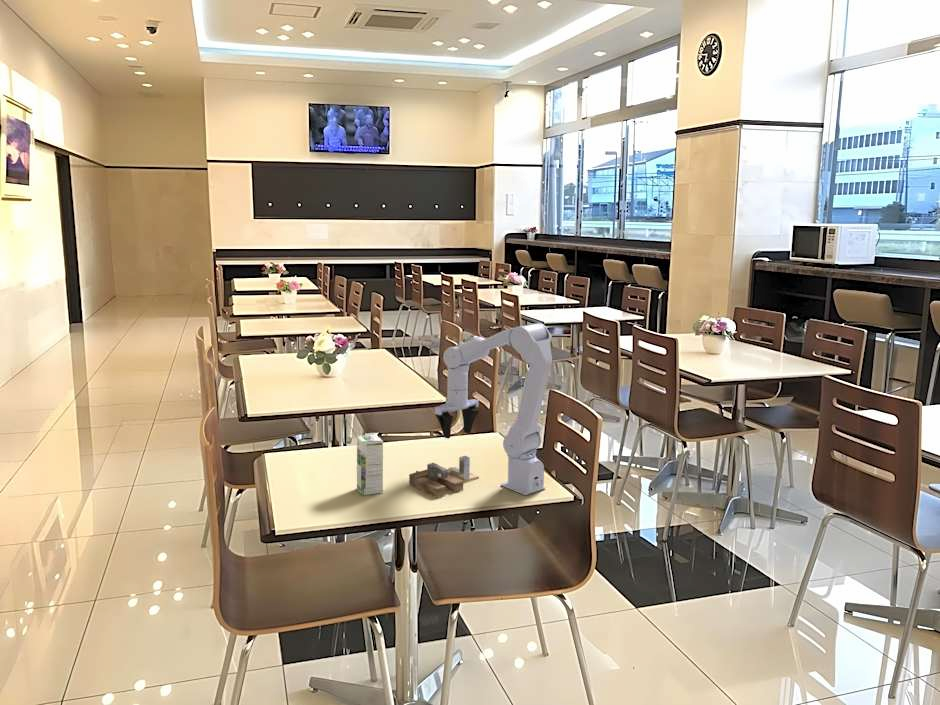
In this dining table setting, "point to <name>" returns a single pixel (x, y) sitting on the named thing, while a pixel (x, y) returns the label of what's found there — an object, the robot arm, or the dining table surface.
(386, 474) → the dining table surface
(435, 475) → the vise
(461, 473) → the grey l-shaped block
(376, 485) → the drink carton
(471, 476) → the cork mat
